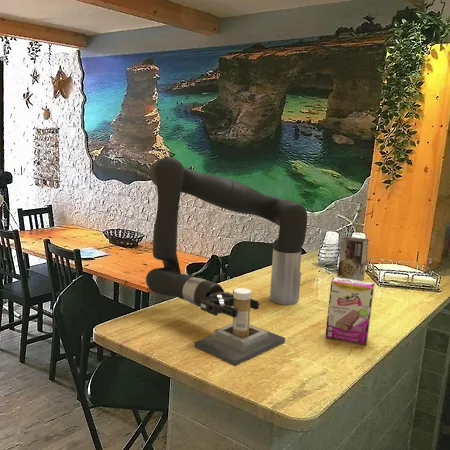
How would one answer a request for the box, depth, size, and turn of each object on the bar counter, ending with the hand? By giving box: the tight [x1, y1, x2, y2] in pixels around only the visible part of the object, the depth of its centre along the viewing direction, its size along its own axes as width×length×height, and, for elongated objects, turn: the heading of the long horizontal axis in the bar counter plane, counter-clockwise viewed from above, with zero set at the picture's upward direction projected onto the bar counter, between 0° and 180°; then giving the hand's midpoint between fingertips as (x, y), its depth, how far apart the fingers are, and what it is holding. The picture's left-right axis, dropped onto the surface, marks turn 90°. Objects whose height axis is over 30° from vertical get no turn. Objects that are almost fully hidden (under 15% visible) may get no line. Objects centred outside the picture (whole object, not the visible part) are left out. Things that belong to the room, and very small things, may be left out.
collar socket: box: [193, 322, 286, 366], centre depth 128 cm, size 20×14×4 cm
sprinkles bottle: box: [232, 287, 252, 339], centre depth 127 cm, size 5×5×13 cm
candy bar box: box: [324, 276, 375, 346], centre depth 134 cm, size 11×5×16 cm, turn 70°
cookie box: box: [337, 235, 369, 281], centre depth 191 cm, size 9×6×16 cm
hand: (247, 309), depth 125 cm, fingers open, 8 cm apart
